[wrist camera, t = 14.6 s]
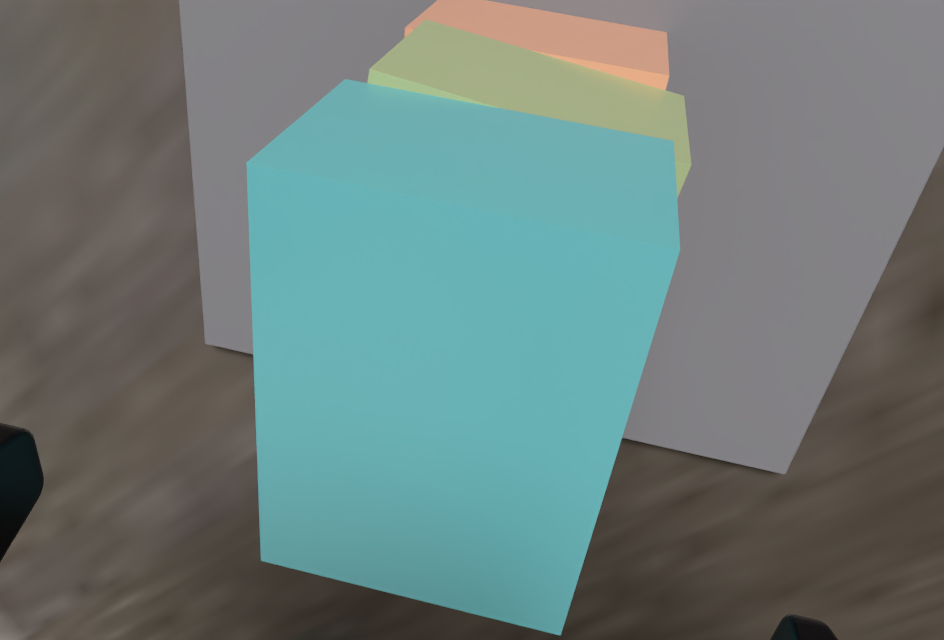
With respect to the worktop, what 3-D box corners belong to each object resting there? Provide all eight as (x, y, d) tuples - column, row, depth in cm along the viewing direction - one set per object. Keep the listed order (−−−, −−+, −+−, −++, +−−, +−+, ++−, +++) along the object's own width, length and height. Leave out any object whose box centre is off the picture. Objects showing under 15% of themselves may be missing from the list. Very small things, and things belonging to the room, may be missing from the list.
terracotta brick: (598, 299, 21) (589, 376, 18) (418, 261, 22) (381, 330, 19) (666, 32, 17) (669, 75, 14) (445, -7, 18) (405, 27, 15)
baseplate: (782, 460, 24) (785, 474, 23) (214, 333, 25) (205, 343, 25) (1076, -161, 15) (1091, -161, 14) (171, -295, 16) (156, -298, 16)
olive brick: (571, 381, 18) (556, 486, 16) (368, 318, 19) (315, 410, 16) (684, 95, 15) (692, 164, 12) (425, 19, 15) (369, 68, 12)
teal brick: (578, 481, 15) (560, 635, 12) (332, 424, 16) (261, 560, 13) (674, 140, 12) (680, 249, 9) (345, 78, 12) (246, 162, 9)
